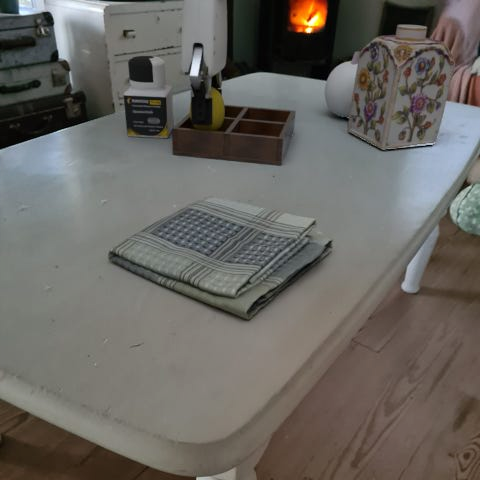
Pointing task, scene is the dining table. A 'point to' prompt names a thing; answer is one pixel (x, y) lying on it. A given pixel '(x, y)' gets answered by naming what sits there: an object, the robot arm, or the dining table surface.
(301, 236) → the dish towel
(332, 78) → the ornament
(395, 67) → the decorative jar
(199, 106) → the robot arm
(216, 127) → the lemon
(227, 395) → the dining table surface
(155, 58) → the medicine bottle
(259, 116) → the divided wooden tray
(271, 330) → the dining table surface
